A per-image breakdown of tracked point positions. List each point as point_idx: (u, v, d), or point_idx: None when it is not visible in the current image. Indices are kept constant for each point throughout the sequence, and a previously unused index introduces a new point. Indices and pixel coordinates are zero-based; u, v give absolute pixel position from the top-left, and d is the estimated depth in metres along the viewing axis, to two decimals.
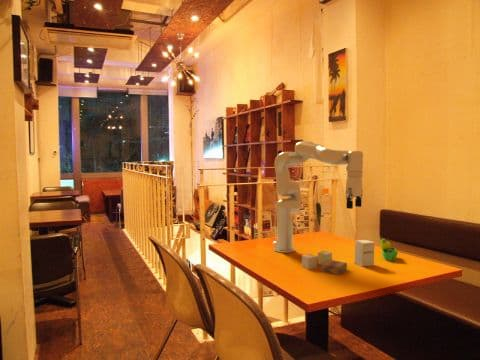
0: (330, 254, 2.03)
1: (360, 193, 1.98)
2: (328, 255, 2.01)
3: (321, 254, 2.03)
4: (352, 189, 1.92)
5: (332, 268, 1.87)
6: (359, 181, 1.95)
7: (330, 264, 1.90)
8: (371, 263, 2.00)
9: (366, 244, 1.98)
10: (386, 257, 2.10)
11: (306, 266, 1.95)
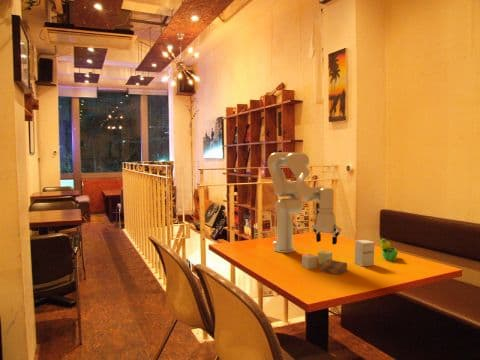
0: (330, 254, 2.03)
1: None
2: (328, 255, 2.01)
3: (321, 254, 2.03)
4: (335, 225, 2.00)
5: (332, 268, 1.87)
6: None
7: (330, 264, 1.90)
8: (371, 263, 2.00)
9: (366, 244, 1.98)
10: (386, 257, 2.10)
11: (306, 266, 1.95)
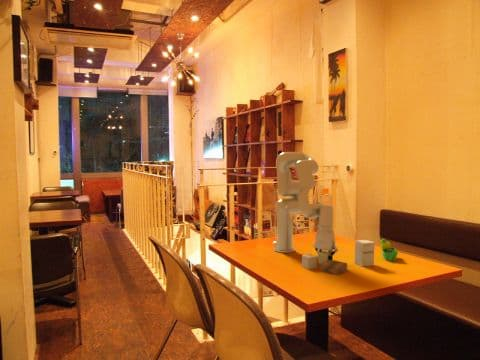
0: None
1: None
2: (328, 255, 2.01)
3: (321, 254, 2.03)
4: (334, 242, 2.01)
5: (332, 268, 1.87)
6: None
7: (330, 264, 1.90)
8: (371, 263, 2.00)
9: (366, 244, 1.98)
10: (386, 257, 2.10)
11: (306, 266, 1.95)
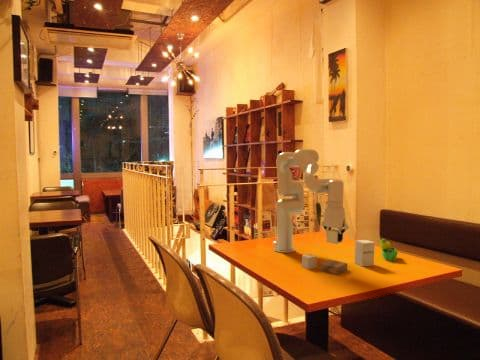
0: None
1: None
2: (338, 233, 1.88)
3: (330, 232, 1.89)
4: (345, 219, 1.88)
5: (331, 268, 1.87)
6: None
7: (330, 264, 1.90)
8: (371, 263, 2.00)
9: (366, 244, 1.98)
10: (386, 257, 2.10)
11: (306, 266, 1.95)
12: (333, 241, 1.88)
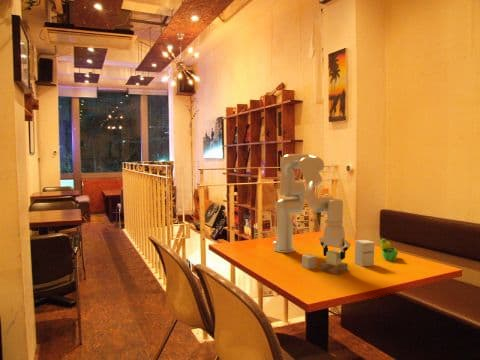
0: (339, 254, 1.90)
1: None
2: (337, 255, 1.89)
3: (330, 254, 1.90)
4: (344, 239, 1.88)
5: (331, 268, 1.87)
6: None
7: (329, 264, 1.90)
8: (371, 263, 2.00)
9: (366, 244, 1.98)
10: (386, 257, 2.10)
11: (306, 266, 1.95)
12: (332, 263, 1.89)
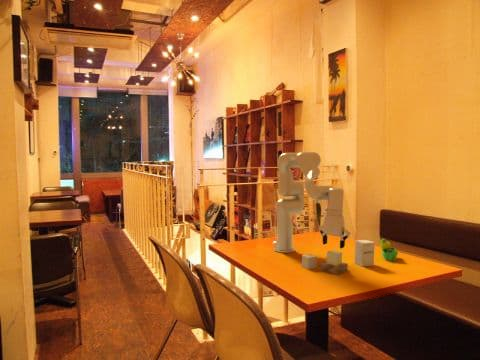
0: (340, 254, 1.90)
1: None
2: (338, 255, 1.88)
3: (330, 254, 1.90)
4: None
5: (331, 268, 1.87)
6: None
7: (329, 264, 1.90)
8: (371, 263, 2.00)
9: (366, 244, 1.98)
10: (386, 257, 2.10)
11: (306, 266, 1.95)
12: (333, 263, 1.89)
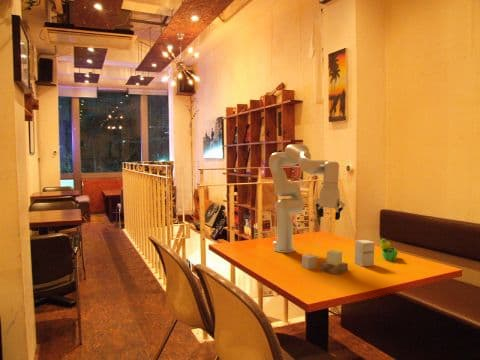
0: (340, 254, 1.90)
1: None
2: (338, 255, 1.88)
3: (330, 254, 1.90)
4: (339, 200, 1.94)
5: (331, 268, 1.87)
6: None
7: None
8: (371, 263, 2.00)
9: (366, 244, 1.98)
10: (386, 257, 2.10)
11: (306, 266, 1.95)
12: (333, 263, 1.89)
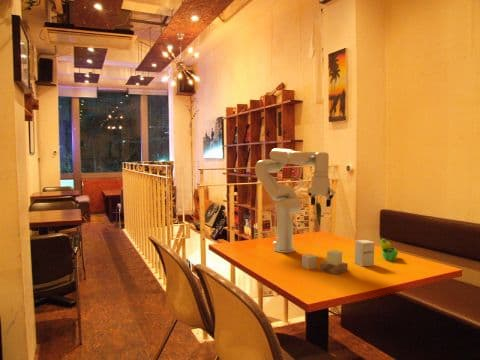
0: (340, 254, 1.90)
1: None
2: (338, 255, 1.89)
3: (331, 254, 1.90)
4: None
5: (331, 268, 1.87)
6: None
7: (329, 264, 1.90)
8: (371, 263, 2.00)
9: (366, 244, 1.98)
10: (386, 257, 2.10)
11: (306, 266, 1.95)
12: (333, 263, 1.89)
